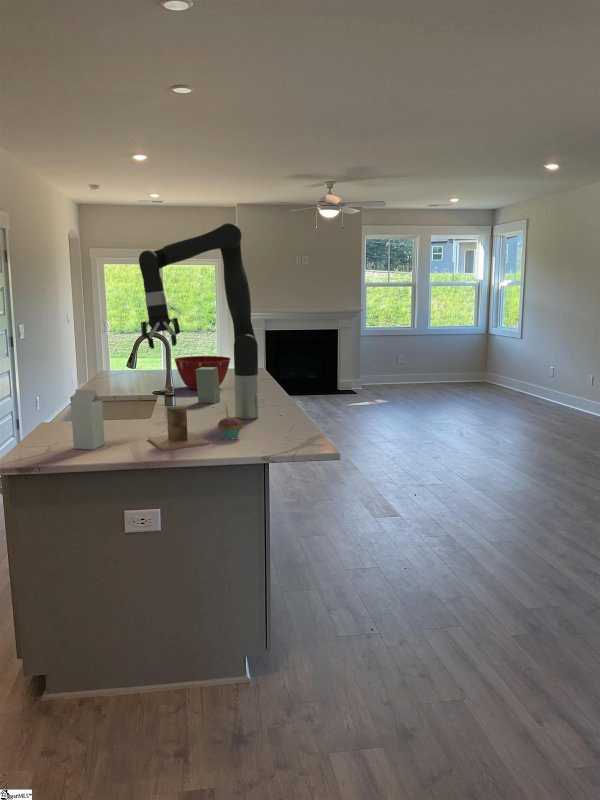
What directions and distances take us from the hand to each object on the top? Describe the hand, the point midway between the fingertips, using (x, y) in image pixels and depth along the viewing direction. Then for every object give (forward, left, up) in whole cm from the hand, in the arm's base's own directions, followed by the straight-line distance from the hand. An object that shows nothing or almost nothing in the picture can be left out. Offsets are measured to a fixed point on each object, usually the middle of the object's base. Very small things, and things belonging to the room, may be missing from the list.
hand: (163, 347), depth 237 cm
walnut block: (-11, +33, -28) cm, 45 cm away
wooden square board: (-11, +33, -29) cm, 45 cm away
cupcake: (-28, +27, -29) cm, 49 cm away
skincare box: (-11, -39, -29) cm, 50 cm away
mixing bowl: (-3, -78, -29) cm, 83 cm away
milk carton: (+17, +39, -29) cm, 52 cm away
